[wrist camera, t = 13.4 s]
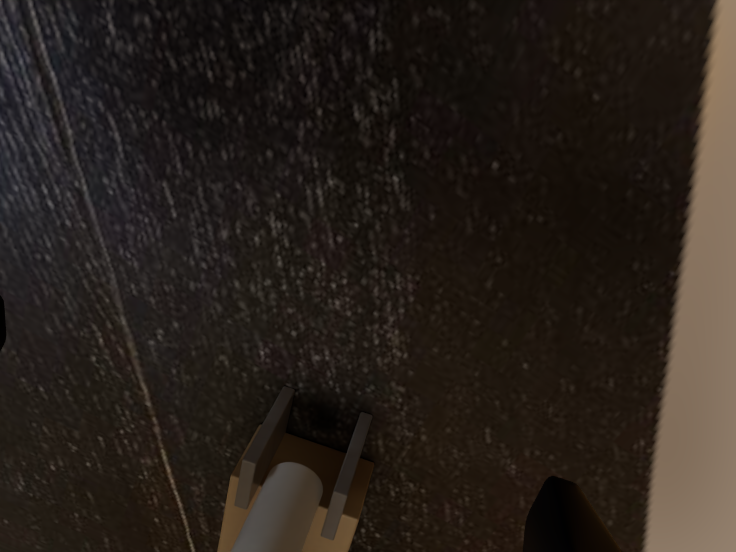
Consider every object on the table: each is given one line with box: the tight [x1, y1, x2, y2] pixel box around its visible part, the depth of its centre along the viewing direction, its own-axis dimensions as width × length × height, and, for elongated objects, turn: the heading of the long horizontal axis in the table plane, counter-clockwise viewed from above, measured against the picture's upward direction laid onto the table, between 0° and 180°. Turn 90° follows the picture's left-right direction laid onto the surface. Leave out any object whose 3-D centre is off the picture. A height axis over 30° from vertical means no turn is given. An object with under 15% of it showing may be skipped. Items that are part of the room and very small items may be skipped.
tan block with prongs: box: [217, 386, 374, 552], centre depth 23 cm, size 5×7×4 cm
